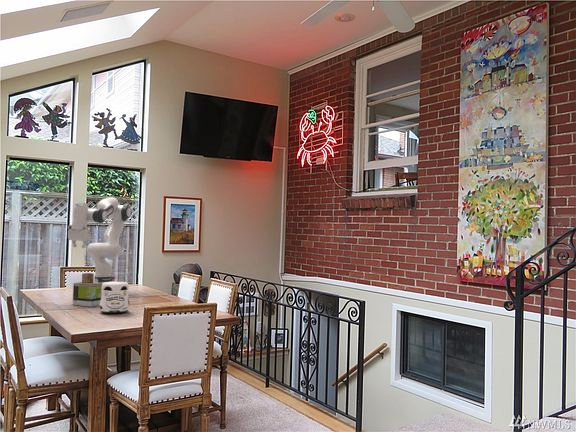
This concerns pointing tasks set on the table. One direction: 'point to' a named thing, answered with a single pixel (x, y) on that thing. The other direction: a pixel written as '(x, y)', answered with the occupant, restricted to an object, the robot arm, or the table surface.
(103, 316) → the table surface
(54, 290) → the table surface
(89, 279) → the walnut block
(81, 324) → the table surface
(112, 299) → the milk container
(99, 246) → the robot arm
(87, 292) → the tea box
